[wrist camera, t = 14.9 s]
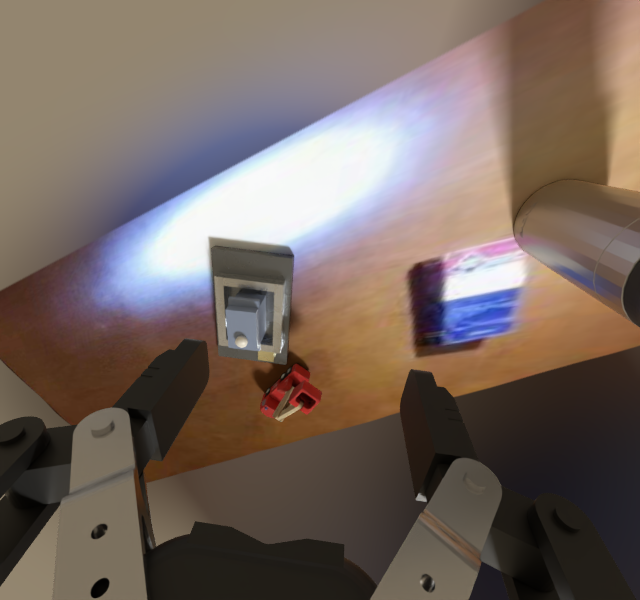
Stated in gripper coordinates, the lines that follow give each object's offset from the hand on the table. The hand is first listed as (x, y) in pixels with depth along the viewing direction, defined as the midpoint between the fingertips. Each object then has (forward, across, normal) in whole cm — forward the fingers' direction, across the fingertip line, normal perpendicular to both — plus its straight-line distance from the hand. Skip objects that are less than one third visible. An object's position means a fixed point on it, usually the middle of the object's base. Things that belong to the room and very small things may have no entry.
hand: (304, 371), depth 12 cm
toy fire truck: (+30, +4, +28) cm, 42 cm away
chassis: (+30, +10, +16) cm, 35 cm away
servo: (+29, +10, +16) cm, 34 cm away
